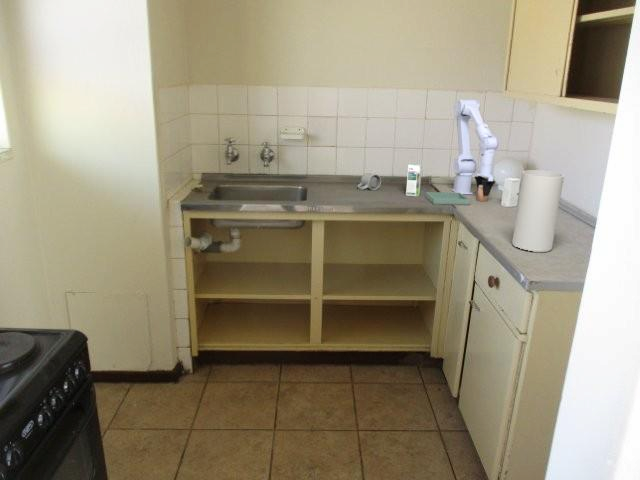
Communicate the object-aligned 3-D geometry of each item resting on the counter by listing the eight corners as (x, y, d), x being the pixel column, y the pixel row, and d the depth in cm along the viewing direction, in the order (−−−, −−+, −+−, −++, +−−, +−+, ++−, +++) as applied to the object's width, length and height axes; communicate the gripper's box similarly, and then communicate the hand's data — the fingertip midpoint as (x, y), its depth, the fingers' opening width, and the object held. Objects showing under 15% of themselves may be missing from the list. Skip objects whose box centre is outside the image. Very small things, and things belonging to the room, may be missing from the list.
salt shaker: (475, 199, 243) (477, 184, 240) (485, 199, 243) (486, 184, 241) (478, 201, 238) (480, 186, 236) (488, 201, 239) (490, 186, 236)
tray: (425, 197, 244) (426, 192, 243) (459, 197, 245) (459, 192, 244) (433, 204, 230) (434, 199, 230) (469, 205, 231) (469, 199, 231)
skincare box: (508, 207, 229) (512, 180, 225) (500, 205, 233) (503, 178, 229) (517, 205, 232) (521, 179, 229) (509, 203, 236) (512, 177, 232)
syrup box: (405, 195, 247) (407, 164, 242) (407, 193, 252) (410, 163, 247) (417, 196, 245) (420, 166, 240) (419, 194, 250) (422, 164, 246)
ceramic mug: (371, 186, 265) (371, 171, 263) (381, 189, 259) (381, 173, 256) (353, 188, 260) (354, 173, 258) (363, 191, 253) (364, 175, 251)
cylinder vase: (557, 247, 176) (570, 174, 169) (541, 255, 168) (554, 179, 160) (522, 239, 185) (532, 168, 177) (505, 246, 177) (515, 172, 169)
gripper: (472, 161, 242) (469, 190, 246) (483, 166, 228) (479, 197, 232) (487, 161, 243) (483, 190, 247) (499, 167, 229) (495, 197, 233)
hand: (482, 193), depth 240 cm, fingers open, 7 cm apart
